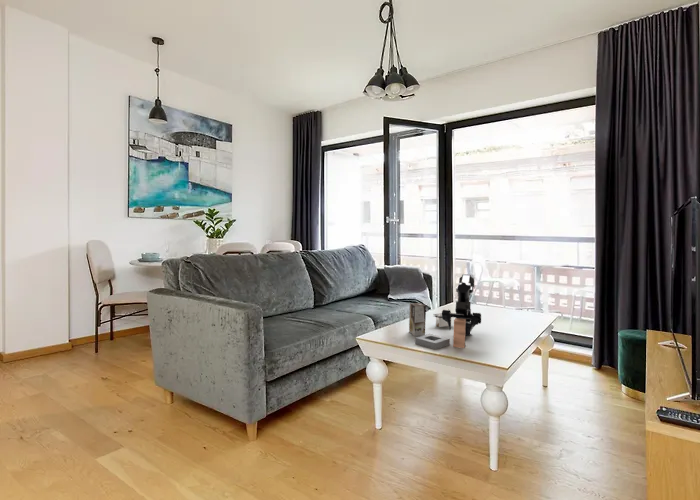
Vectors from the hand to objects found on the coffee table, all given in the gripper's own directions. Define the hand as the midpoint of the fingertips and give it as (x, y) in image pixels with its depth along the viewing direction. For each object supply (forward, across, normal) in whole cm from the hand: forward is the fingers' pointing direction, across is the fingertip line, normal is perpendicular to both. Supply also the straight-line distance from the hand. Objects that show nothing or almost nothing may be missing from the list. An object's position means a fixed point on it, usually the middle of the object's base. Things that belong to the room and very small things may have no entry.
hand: (459, 331), depth 193 cm
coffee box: (-4, -24, +15) cm, 29 cm away
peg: (+5, 0, +6) cm, 8 cm away
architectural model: (-22, -14, +33) cm, 42 cm away
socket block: (+7, -13, +4) cm, 15 cm away
